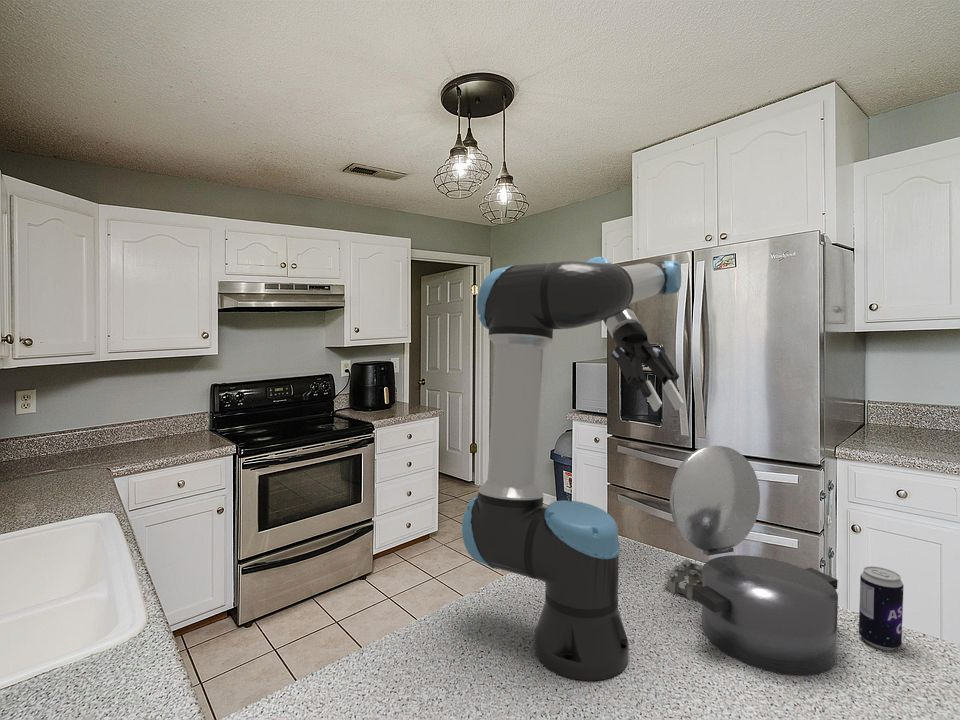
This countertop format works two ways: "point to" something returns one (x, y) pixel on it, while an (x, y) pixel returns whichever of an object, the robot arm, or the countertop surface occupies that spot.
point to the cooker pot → (770, 613)
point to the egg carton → (679, 575)
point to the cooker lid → (715, 499)
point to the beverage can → (881, 608)
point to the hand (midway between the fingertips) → (669, 406)
